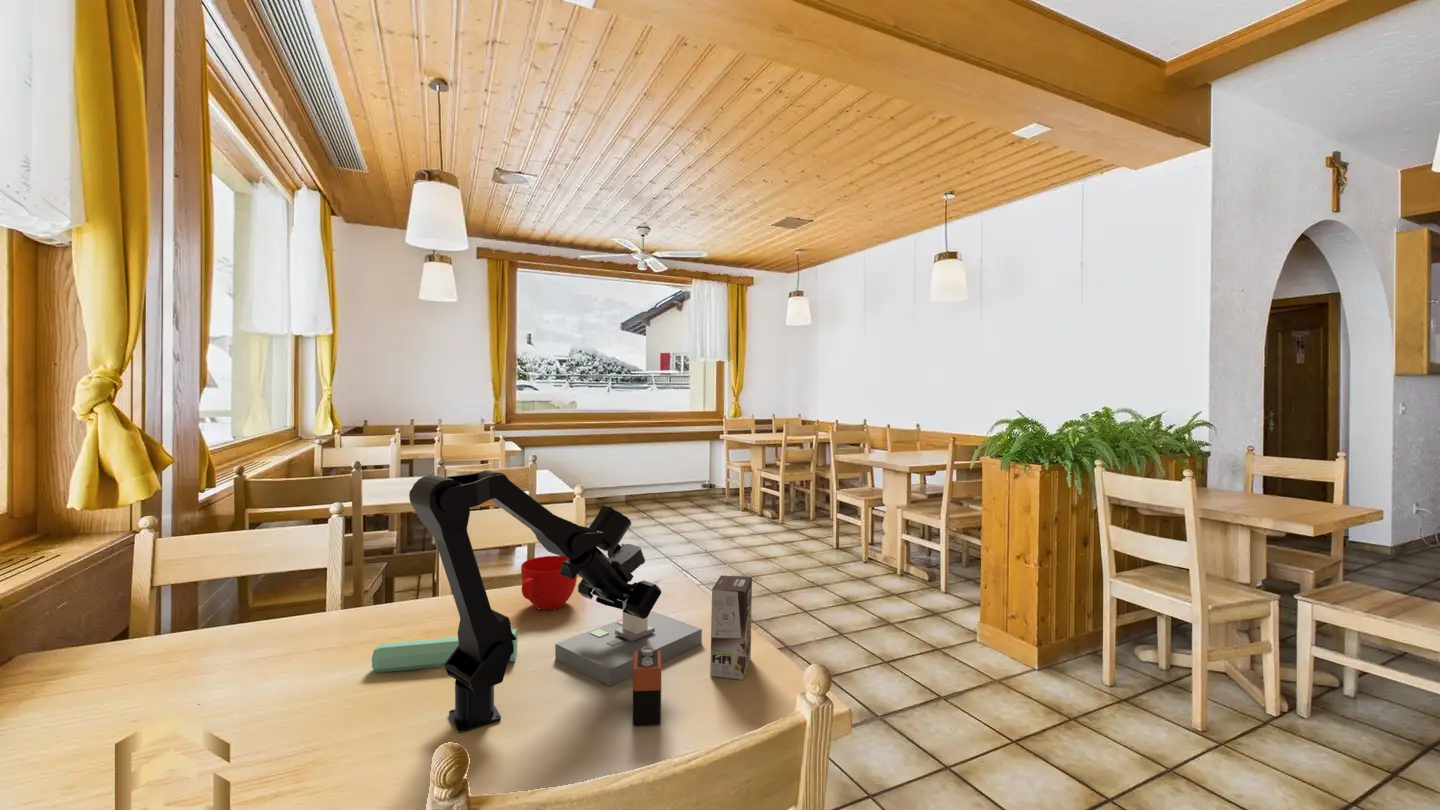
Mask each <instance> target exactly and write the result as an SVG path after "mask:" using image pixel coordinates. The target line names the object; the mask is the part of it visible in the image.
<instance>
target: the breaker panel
mask: <svg viewBox="0 0 1440 810" xmlns="http://www.w3.org/2000/svg"><path fill="white" fill-rule="evenodd" d="M648 626H651V627H654V628H655V632H653V633H651V634H648V635H646V636H644V637H641V638H639V639H636V640H634V641H630V640H628V639H626V638H623V637H621V636H618V635H616V634H615V630H617V629H619V628H622V627H623V618H621V619H619V620H618V619H617V620H616V621H613V622H609V623H608V624H605V625H602V626H598V627H597V628H594V629H592V630H588V631H585V632H583V633H580V634H578V635H575V636H572V637H569V638H567V639H563V640H562V641H558V642H556V643H555V645H554V646H555V650H554V651H555V654H554V655H555V660H557V661H558V662H560V663H562V664H564V665H567V666H568V667H569V668H570V667H571V668H572V669H574V670H576V671H578V672H580V673H582V674H584V675H586V676H587V677H590V678H591V679H594V680H596V681H597V682H600V683H602V684H604V685H605V686H607V687H609V688H610V687H613V686H614V685H616V684H618V683H621V682H622V681H625V680H627V679H630V678H632V677H633V664H634V653H635V652H636V651H641V649H642V648H643V647H652V648H654V650H659V651H660V652H661V663H663V662H666V661H667V660H670V659H672V658H674V657H676V656H678V655H680V654H682V653H685V652H687V651H689V650H691V649H693V648H695V647H697V646H700V645H702V642H703V641H702V640H703V633H702V632H703V629H702V628H700V627H697V626H694V625H692V624H689V623H686V622H683V621H681V620H679V619H676V618H673V617H669V616H667V615H664V614H661V613H658V612H656V611H654V610H651V611H650V614H649V615H648ZM699 644H700V645H699Z"/></svg>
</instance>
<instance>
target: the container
mask: <svg viewBox="0 0 1440 810" xmlns="http://www.w3.org/2000/svg"><path fill="white" fill-rule="evenodd" d="M511 631H512V633H513V635H514V636H515V637H516V640H512V641H513V644H514V652H513V654H512V655H511V657H510V659H509V662H510V663H515V662H516V660H517V657H518V632H517V631H518V630H517V628H514V629H511ZM458 646H459V641H458V636H454V637H443V638H441V637H440V638H431V639H418V640H409V641H396V642H388V643H387V642H384V643H382V644H379V645H377V646H376V647H375V648H374V649H373V651H372V656H371V668H372V669H373V671H374V672H376V673H386V672H399V671H410V670H419V669H420V670H422V669H432V668H433V669H435V668H442V667H444V664H445V663H446V661H447V660H448V659H449V657H450V656H451V655H452V654H453V652H454V651H455V650H456V648H457V647H458ZM444 668H445V667H444Z"/></svg>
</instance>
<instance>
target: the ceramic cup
mask: <svg viewBox="0 0 1440 810" xmlns="http://www.w3.org/2000/svg"><path fill="white" fill-rule="evenodd" d="M567 560H568V558H565V557H562V556H559V555H548V556H547V555H546V556H539V557H533V558H530V559H528V560H526V561H524V562H522V563H521V565H520V572H521V573H520V574H521V583H522V585H521V595H522V596H523V597H524V598H525V600H529V602H530V603H531V604H532V605H533V606H534V607H535V608H536V607H537V608H540V609H553V610H555V609H554V608H558V607H560V608H562V607H563V606H564V605H565V603H567V601H569V599H570V598H571V596H572V595H573V593H574V592H575V591H574V590H575V588H576V585H577V580H578V574H577V575H576V577H575V578H574V579H570V578H567V577H564V576H562V575H561V574H560V572H561V568H562V562H565V561H567ZM561 606H562V607H561ZM537 608H536V609H537ZM540 609H539V610H540ZM558 609H559V608H558Z"/></svg>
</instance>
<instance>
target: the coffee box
mask: <svg viewBox="0 0 1440 810" xmlns="http://www.w3.org/2000/svg"><path fill="white" fill-rule="evenodd" d="M752 591H753V577H752V576H745V575H744V576H743V575H724V574H723V575H720V576H719V577H718V579H717V581H716V583H715V584H714V586H713V587H712V588H711V620H710V621H711V623H710V624H711V625H710V627H711V628H710V665H709V666H710V668H709V669H710V670H709V671H710V672H709V673H710V674H709V675H710V676H711V677H717V678H725V679H733V680H740V681H741V680H744V678H745V675H746V672H747V670H748V667H749V664H750V661H751V659H752V656H751V655H752V653H751V651H752V601H753V600H752V598H753V596H752V595H753V594H752V593H753V592H752Z"/></svg>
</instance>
